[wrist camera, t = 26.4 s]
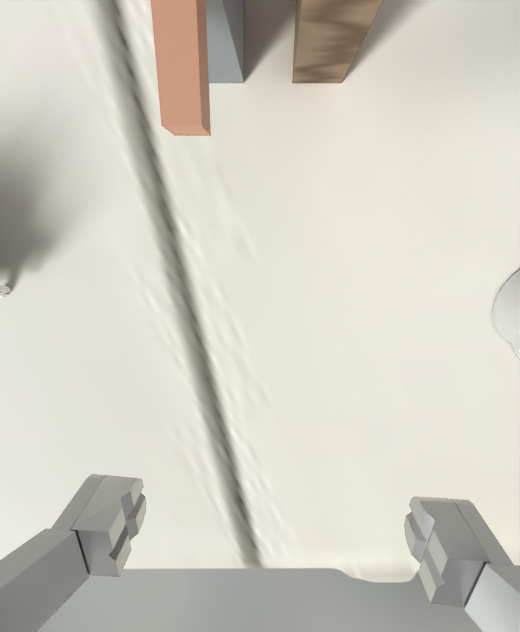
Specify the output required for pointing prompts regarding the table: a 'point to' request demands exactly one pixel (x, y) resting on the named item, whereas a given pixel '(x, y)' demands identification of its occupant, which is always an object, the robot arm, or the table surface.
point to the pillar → (329, 37)
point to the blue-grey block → (225, 40)
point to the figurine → (4, 291)
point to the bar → (182, 65)
